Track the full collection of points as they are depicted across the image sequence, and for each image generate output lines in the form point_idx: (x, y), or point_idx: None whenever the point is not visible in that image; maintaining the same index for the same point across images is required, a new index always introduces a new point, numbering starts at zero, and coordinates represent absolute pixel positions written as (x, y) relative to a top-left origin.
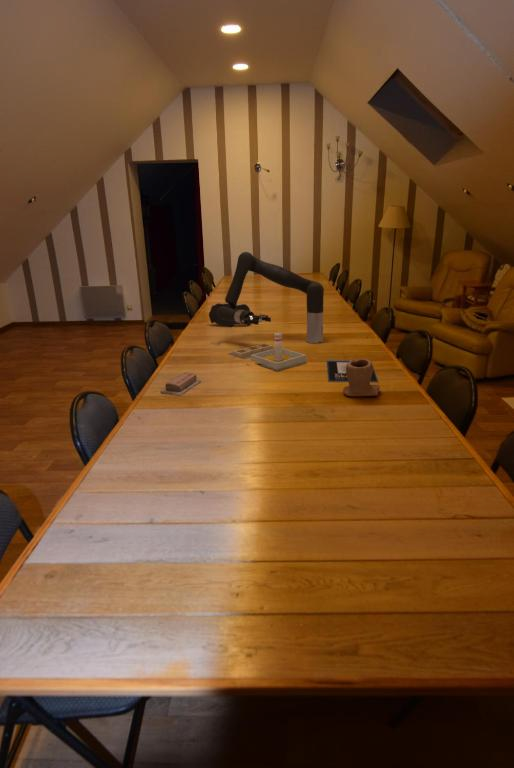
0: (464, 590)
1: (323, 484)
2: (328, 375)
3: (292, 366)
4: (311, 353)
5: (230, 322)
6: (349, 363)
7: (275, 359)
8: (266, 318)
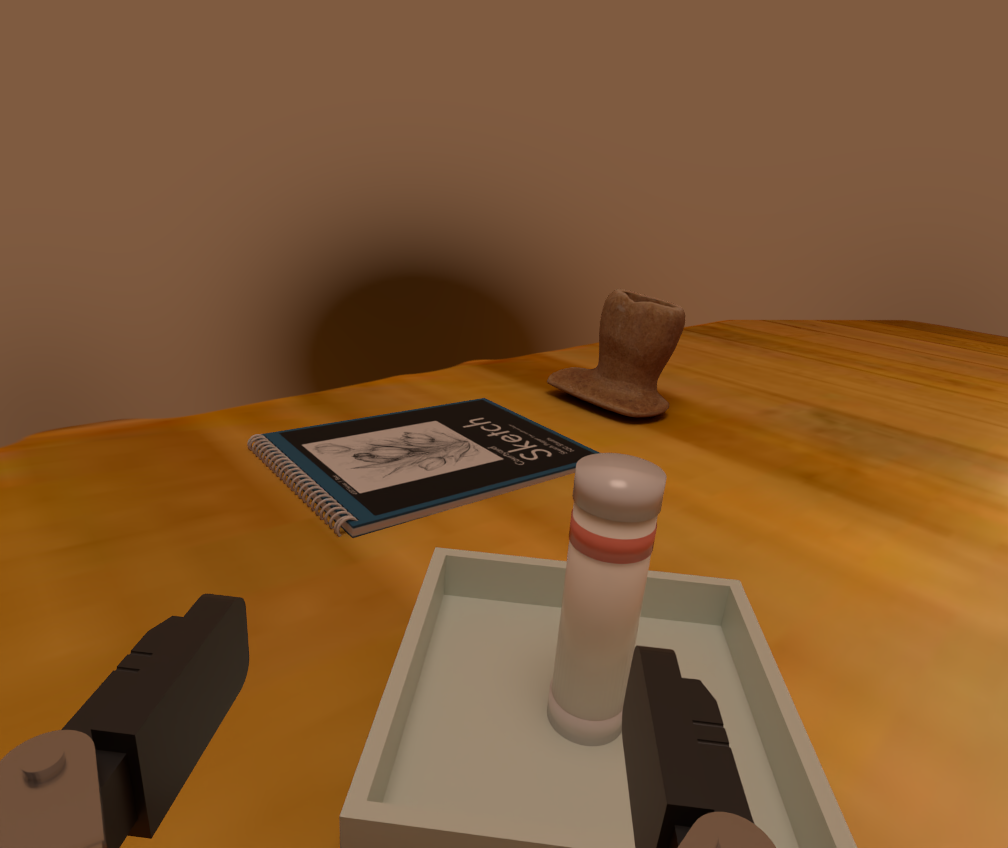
0: (882, 326)
1: (949, 374)
2: (559, 469)
3: None
4: None
5: None
6: (671, 307)
7: None
8: (181, 710)
